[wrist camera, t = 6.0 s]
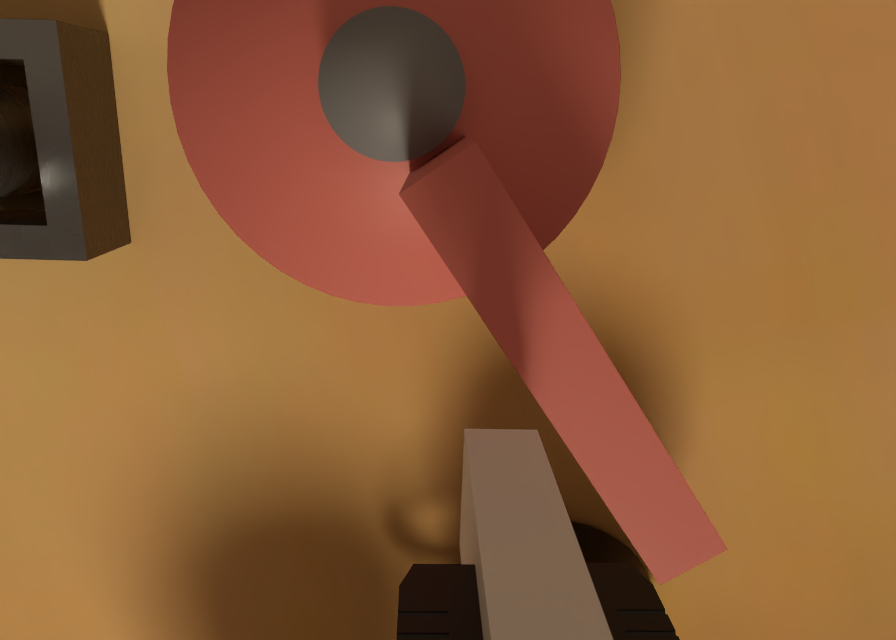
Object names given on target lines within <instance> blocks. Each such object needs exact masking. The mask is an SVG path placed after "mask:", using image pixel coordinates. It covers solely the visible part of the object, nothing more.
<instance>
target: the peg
mask: <svg viewBox="0 0 896 640" xmlns="http://www.w3.org/2000/svg"><path fill="white" fill-rule="evenodd" d="M40 190H42V184H41V177H40V170H39V163H38V156H37V149H36V142H35V135H34V129H33V122H32V115H31V108H30V101H29V94H28V89H27V88H25V87H21V86H16V85H6V84H0V198H3V197H9V196H14V195H20V194H25V193H31V192H36V191H40Z"/></svg>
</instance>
